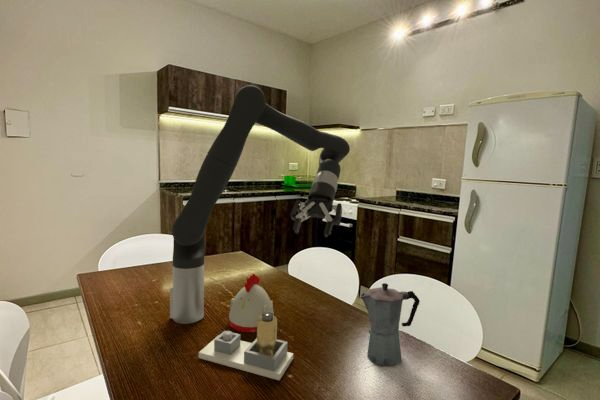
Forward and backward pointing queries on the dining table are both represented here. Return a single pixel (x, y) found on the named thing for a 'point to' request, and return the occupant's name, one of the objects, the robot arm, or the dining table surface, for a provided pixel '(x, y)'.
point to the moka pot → (386, 323)
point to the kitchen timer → (249, 306)
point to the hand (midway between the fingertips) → (310, 233)
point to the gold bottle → (266, 334)
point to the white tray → (247, 355)
